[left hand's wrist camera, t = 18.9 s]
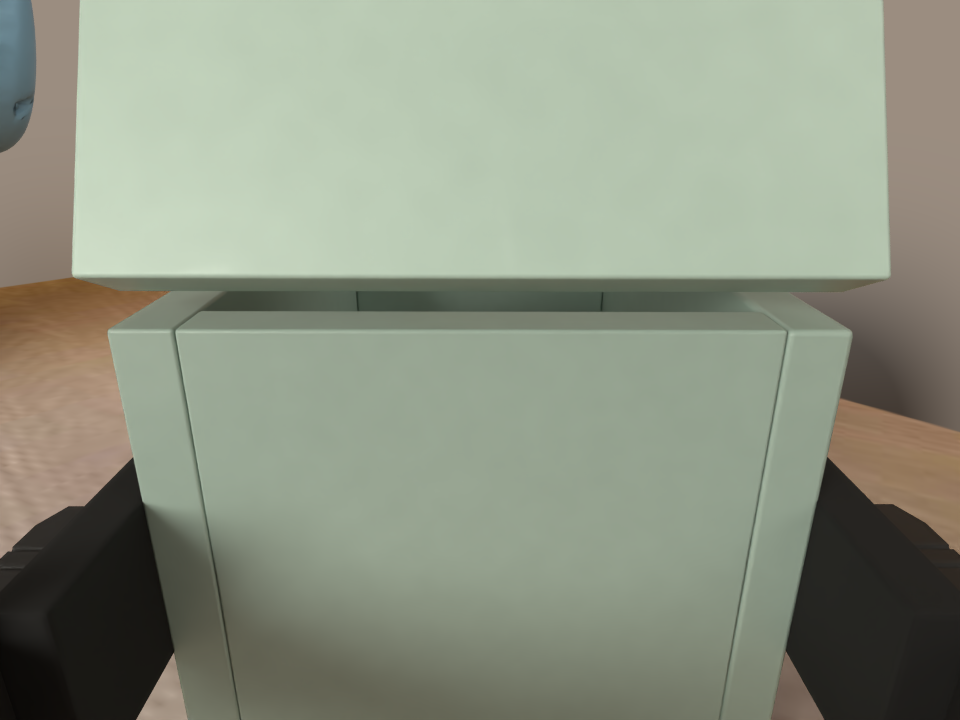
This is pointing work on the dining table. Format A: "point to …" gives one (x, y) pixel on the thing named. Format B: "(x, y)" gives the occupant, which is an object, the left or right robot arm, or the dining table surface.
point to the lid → (481, 145)
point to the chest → (479, 498)
